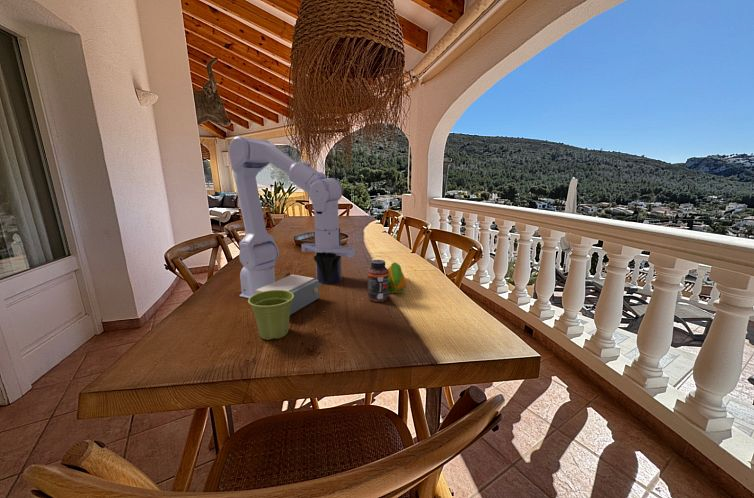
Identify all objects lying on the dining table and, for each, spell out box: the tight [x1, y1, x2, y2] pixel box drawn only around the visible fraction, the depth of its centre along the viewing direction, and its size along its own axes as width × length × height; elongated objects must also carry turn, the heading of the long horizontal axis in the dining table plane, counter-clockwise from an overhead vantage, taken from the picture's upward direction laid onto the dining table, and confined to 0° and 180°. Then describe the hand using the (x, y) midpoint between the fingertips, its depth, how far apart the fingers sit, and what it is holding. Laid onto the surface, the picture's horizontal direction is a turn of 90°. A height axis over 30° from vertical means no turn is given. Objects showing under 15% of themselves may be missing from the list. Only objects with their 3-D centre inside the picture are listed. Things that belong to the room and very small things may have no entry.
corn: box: [387, 262, 407, 294], centre depth 95 cm, size 7×8×20 cm
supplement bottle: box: [367, 259, 389, 303], centre depth 84 cm, size 6×6×11 cm
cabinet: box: [256, 274, 315, 294], centre depth 81 cm, size 8×14×6 cm, turn 156°
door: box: [290, 278, 320, 316], centre depth 78 cm, size 2×15×5 cm, turn 155°
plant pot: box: [247, 290, 294, 341], centre depth 65 cm, size 9×9×9 cm
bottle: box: [315, 227, 343, 285], centre depth 98 cm, size 9×9×30 cm
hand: (328, 281), depth 75 cm, fingers closed
